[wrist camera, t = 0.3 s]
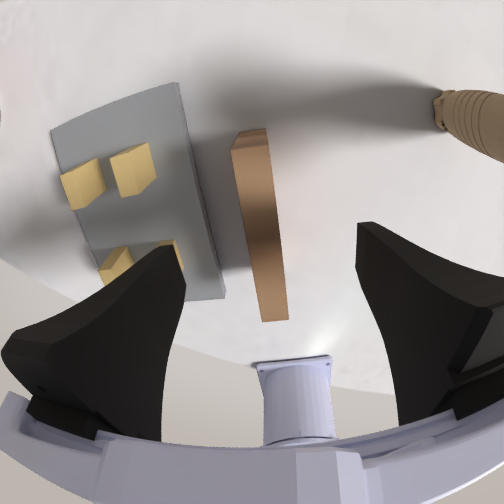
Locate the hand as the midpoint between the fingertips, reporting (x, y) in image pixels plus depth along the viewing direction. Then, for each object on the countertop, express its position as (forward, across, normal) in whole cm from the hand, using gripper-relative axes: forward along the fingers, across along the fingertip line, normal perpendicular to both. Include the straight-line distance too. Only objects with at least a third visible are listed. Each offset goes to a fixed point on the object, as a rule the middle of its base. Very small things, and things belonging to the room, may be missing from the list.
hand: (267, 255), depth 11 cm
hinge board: (+9, +9, 0) cm, 13 cm away
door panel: (+9, 0, +1) cm, 9 cm away
